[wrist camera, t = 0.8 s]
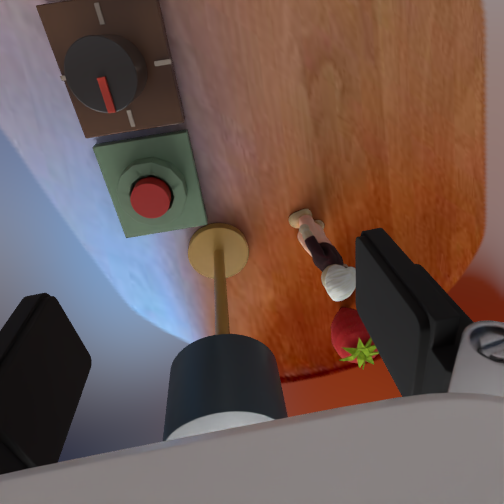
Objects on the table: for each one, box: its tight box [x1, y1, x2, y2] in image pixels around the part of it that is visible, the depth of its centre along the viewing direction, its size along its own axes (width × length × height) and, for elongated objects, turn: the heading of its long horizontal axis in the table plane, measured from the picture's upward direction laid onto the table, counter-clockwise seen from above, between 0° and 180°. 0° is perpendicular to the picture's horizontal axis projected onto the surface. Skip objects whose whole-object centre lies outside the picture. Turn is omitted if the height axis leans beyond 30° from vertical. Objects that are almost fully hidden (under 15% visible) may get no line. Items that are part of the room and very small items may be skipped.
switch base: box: [93, 130, 208, 238], centre depth 36 cm, size 10×9×3 cm
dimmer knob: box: [64, 35, 147, 113], centre depth 27 cm, size 5×5×5 cm
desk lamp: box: [163, 223, 288, 441], centre depth 32 cm, size 8×8×24 cm
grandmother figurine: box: [289, 209, 356, 301], centre depth 36 cm, size 8×4×13 cm, turn 55°
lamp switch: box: [130, 177, 171, 218], centre depth 34 cm, size 4×4×2 cm
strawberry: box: [331, 307, 379, 369], centre depth 45 cm, size 6×8×10 cm
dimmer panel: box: [36, 0, 185, 138], centre depth 30 cm, size 10×9×2 cm
